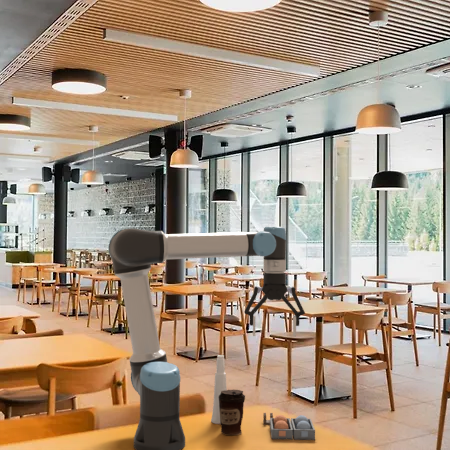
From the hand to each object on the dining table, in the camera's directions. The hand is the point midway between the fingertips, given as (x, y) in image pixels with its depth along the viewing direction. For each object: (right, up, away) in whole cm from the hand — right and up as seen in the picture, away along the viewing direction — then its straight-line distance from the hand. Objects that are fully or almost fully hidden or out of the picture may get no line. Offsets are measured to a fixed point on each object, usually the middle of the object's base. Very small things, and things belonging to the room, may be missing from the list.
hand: (274, 335), depth 206 cm
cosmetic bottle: (-18, -29, -1) cm, 34 cm away
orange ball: (+1, -26, -16) cm, 30 cm away
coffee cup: (-15, -29, -13) cm, 35 cm away
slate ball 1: (+8, -26, -10) cm, 29 cm away
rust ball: (+1, -26, -10) cm, 28 cm away
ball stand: (-2, -29, -3) cm, 29 cm away
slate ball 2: (+8, -26, -16) cm, 31 cm away
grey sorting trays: (+4, -28, -13) cm, 32 cm away
